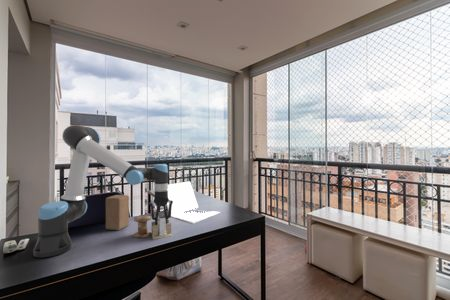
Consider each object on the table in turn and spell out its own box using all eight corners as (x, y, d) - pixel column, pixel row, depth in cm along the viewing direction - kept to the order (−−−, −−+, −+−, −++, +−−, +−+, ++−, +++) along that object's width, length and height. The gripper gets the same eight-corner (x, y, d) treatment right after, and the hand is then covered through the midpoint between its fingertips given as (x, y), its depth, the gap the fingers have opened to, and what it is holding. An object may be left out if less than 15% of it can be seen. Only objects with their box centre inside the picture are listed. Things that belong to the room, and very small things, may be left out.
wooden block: (119, 230, 132) (119, 198, 132) (104, 229, 134) (105, 197, 134) (129, 225, 142) (129, 195, 142) (116, 224, 144) (116, 194, 144)
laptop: (193, 224, 144) (193, 190, 144) (161, 215, 165) (161, 185, 165) (221, 214, 167) (220, 184, 168) (189, 207, 189) (189, 181, 189)
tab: (159, 236, 121) (159, 217, 121) (157, 230, 129) (157, 213, 129) (165, 235, 122) (165, 216, 122) (163, 230, 130) (163, 212, 131)
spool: (134, 239, 120) (134, 221, 120) (134, 233, 128) (134, 216, 128) (151, 236, 123) (151, 218, 123) (150, 231, 131) (150, 214, 132)
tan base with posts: (171, 236, 123) (171, 224, 123) (153, 239, 119) (153, 226, 119) (168, 230, 132) (168, 219, 133) (151, 233, 128) (151, 221, 128)
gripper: (147, 192, 119) (147, 235, 119) (176, 190, 126) (176, 230, 126) (146, 190, 126) (146, 230, 126) (174, 188, 133) (174, 226, 133)
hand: (161, 230), depth 126 cm, fingers closed on tab, 3 cm apart
